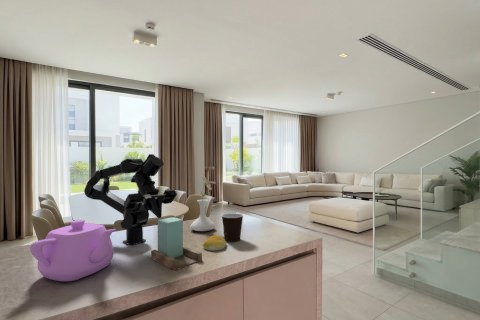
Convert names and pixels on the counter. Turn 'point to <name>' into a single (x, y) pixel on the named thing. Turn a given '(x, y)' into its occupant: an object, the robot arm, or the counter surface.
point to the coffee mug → (232, 226)
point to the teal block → (170, 236)
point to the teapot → (73, 251)
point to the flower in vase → (203, 213)
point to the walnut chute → (177, 258)
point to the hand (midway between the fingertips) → (160, 217)
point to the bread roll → (214, 243)
